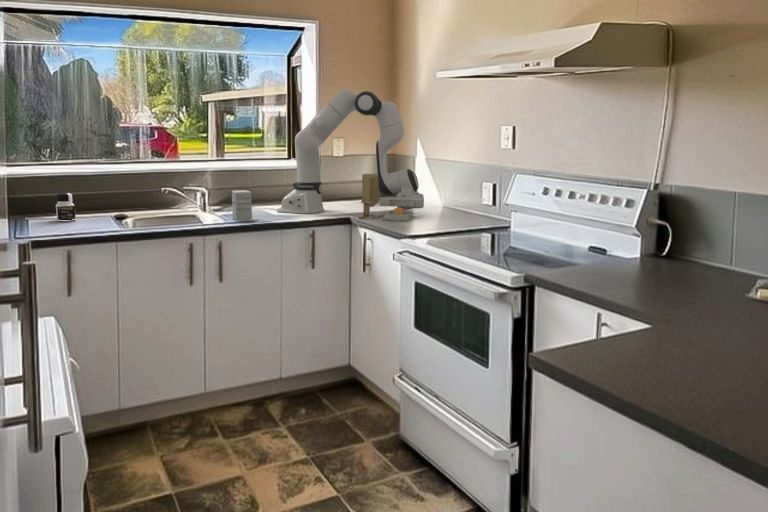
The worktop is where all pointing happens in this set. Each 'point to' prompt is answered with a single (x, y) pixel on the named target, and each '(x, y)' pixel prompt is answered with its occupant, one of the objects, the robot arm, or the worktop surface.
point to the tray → (398, 216)
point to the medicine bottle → (65, 207)
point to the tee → (366, 209)
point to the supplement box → (241, 205)
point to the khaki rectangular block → (370, 188)
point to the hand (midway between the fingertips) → (398, 204)
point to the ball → (398, 210)
